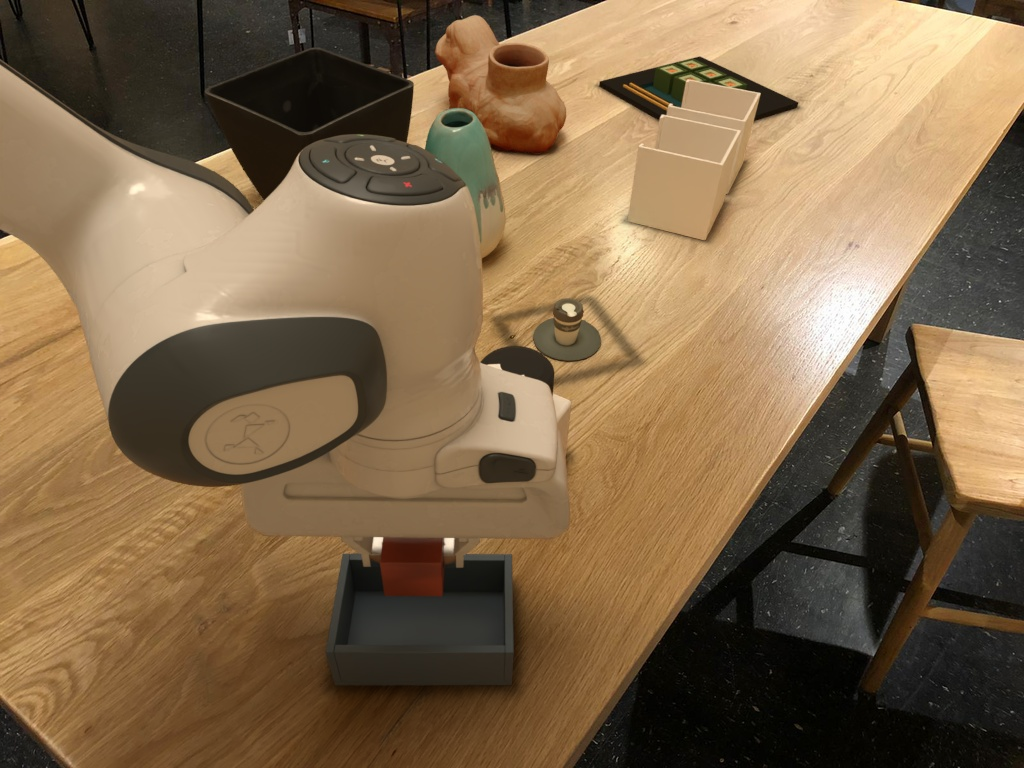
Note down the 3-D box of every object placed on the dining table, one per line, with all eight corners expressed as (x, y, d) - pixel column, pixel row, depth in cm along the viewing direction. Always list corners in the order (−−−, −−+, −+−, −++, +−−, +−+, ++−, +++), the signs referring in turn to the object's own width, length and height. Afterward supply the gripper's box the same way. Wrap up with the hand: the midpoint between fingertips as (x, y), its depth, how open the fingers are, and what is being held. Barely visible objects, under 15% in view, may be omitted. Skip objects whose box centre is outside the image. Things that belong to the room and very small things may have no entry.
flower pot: (325, 258, 97) (304, 132, 86) (230, 209, 105) (199, 88, 94) (425, 199, 109) (418, 81, 97) (332, 159, 117) (315, 46, 105)
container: (499, 425, 77) (501, 324, 68) (566, 456, 74) (578, 355, 65) (456, 476, 72) (452, 374, 63) (527, 511, 69) (533, 409, 60)
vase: (450, 285, 94) (446, 148, 82) (398, 244, 100) (386, 111, 88) (523, 253, 99) (528, 121, 87) (469, 216, 106) (467, 87, 93)
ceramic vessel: (482, 89, 137) (482, 0, 127) (582, 142, 123) (591, 47, 113) (418, 108, 131) (413, 16, 121) (516, 167, 116) (519, 68, 106)
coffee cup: (590, 299, 92) (594, 265, 89) (636, 361, 84) (643, 327, 81) (497, 320, 89) (497, 285, 86) (536, 386, 81) (538, 351, 78)
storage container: (705, 240, 103) (722, 165, 95) (627, 221, 106) (638, 146, 98) (743, 162, 120) (760, 93, 112) (675, 147, 123) (687, 79, 115)
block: (384, 596, 52) (379, 562, 50) (390, 547, 55) (386, 513, 53) (442, 596, 52) (441, 563, 50) (445, 548, 55) (444, 514, 53)
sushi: (599, 86, 140) (601, 65, 137) (699, 60, 150) (702, 41, 148) (693, 139, 125) (697, 117, 122) (797, 107, 135) (803, 86, 133)
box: (334, 685, 57) (324, 652, 53) (350, 588, 63) (342, 553, 59) (511, 685, 57) (513, 652, 54) (510, 589, 63) (512, 553, 60)
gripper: (202, 458, 41) (252, 598, 50) (584, 463, 41) (563, 600, 51) (232, 378, 45) (273, 520, 55) (575, 384, 46) (557, 523, 55)
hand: (415, 559), depth 53 cm, fingers closed on block, 4 cm apart
